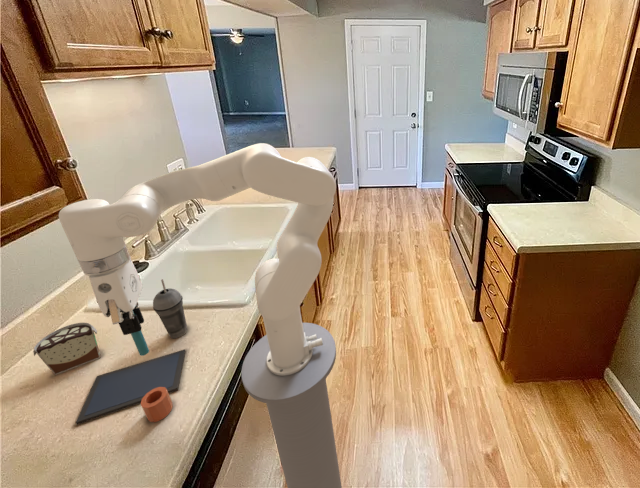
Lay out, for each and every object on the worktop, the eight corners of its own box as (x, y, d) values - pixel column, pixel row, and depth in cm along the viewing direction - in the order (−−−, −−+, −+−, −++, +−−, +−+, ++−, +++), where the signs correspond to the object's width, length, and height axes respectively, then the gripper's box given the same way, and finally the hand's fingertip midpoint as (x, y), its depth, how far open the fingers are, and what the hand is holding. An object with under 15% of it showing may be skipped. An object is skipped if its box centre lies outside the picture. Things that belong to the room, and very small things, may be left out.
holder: (174, 397, 81) (168, 383, 79) (170, 416, 77) (164, 401, 75) (150, 406, 79) (143, 391, 77) (145, 426, 75) (138, 411, 73)
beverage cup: (183, 320, 105) (165, 268, 97) (197, 327, 102) (180, 274, 94) (159, 337, 99) (138, 282, 91) (174, 345, 96) (153, 289, 88)
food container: (109, 340, 98) (97, 314, 94) (107, 354, 93) (94, 327, 89) (52, 361, 91) (37, 334, 88) (47, 378, 87) (30, 349, 83)
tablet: (185, 351, 94) (185, 348, 93) (178, 390, 83) (177, 387, 82) (98, 378, 86) (96, 375, 86) (76, 424, 75) (75, 422, 75)
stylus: (150, 348, 78) (132, 304, 73) (148, 354, 76) (130, 309, 71) (140, 351, 77) (122, 307, 72) (138, 357, 75) (119, 312, 70)
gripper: (117, 274, 62) (147, 347, 69) (137, 236, 75) (160, 301, 82) (65, 286, 59) (101, 361, 66) (95, 245, 72) (123, 311, 79)
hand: (134, 327), depth 74 cm, fingers closed on stylus, 1 cm apart
